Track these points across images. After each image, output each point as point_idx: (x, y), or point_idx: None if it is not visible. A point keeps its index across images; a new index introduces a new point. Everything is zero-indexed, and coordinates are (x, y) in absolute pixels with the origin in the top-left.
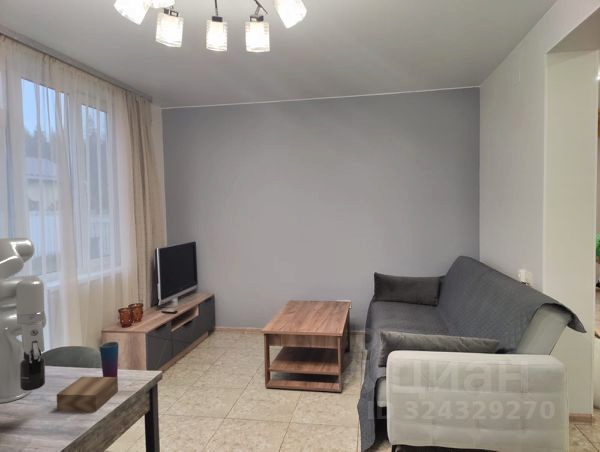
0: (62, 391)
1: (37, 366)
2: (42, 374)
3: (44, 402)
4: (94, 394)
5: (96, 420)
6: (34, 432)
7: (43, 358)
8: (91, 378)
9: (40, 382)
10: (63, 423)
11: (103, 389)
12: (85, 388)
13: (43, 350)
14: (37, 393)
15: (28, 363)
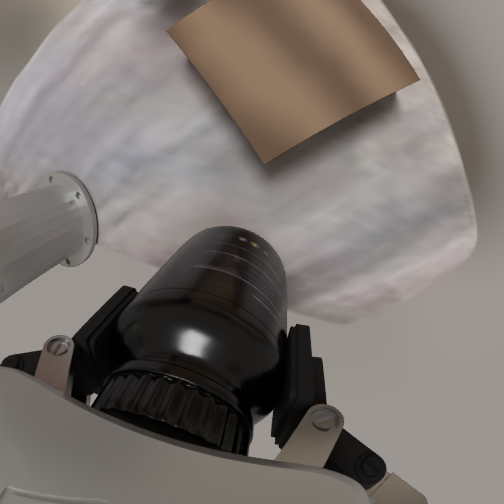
0: (254, 134)
1: (322, 386)
2: (276, 284)
3: (169, 167)
4: (410, 77)
5: (448, 129)
6: (356, 265)
7: (210, 327)
8: (223, 7)
9: (283, 276)
10: (383, 192)
11: (383, 29)
12: (314, 59)
13: (363, 491)
14: (93, 164)
15: (278, 442)
